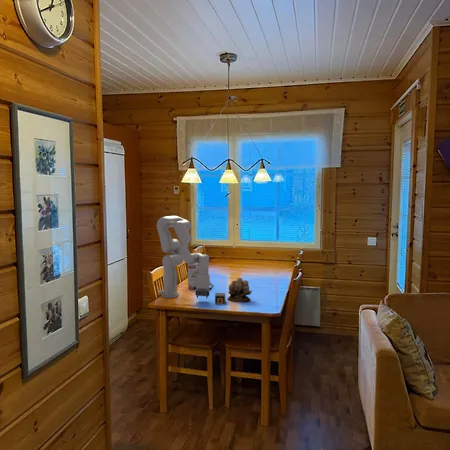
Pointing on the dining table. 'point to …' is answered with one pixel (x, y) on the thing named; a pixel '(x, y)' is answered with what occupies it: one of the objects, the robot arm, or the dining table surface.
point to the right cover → (219, 296)
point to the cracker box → (192, 274)
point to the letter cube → (219, 300)
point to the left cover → (202, 292)
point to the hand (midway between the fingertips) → (202, 296)
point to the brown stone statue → (239, 291)
